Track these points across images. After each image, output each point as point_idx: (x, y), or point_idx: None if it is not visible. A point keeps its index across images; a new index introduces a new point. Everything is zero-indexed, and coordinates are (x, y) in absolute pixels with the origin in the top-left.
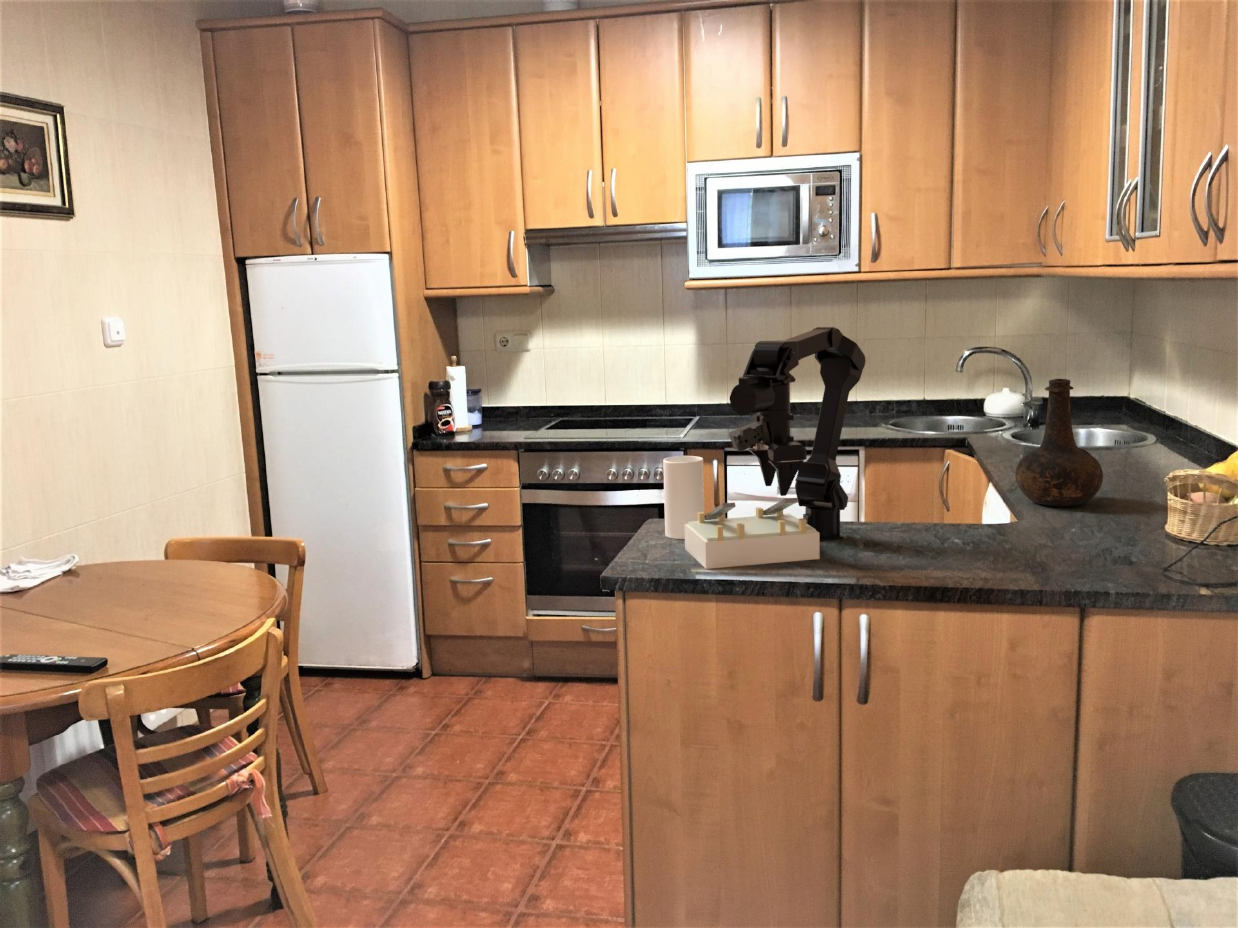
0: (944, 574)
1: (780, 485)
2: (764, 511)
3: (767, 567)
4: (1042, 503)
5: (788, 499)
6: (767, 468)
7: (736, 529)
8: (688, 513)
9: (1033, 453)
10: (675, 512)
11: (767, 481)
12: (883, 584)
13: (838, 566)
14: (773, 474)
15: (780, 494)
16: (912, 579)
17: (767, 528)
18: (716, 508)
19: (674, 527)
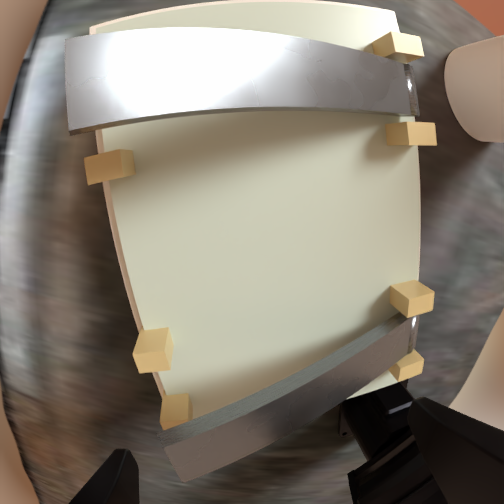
0: None
1: (79, 493)
2: (404, 317)
3: (102, 238)
4: None
5: (168, 456)
6: (469, 473)
7: (222, 159)
8: (494, 75)
9: None
10: (496, 43)
11: (424, 421)
12: (14, 417)
13: (113, 398)
14: (433, 470)
15: (114, 451)
16: (51, 457)
17: (214, 296)
18: (222, 31)
19: (468, 49)
